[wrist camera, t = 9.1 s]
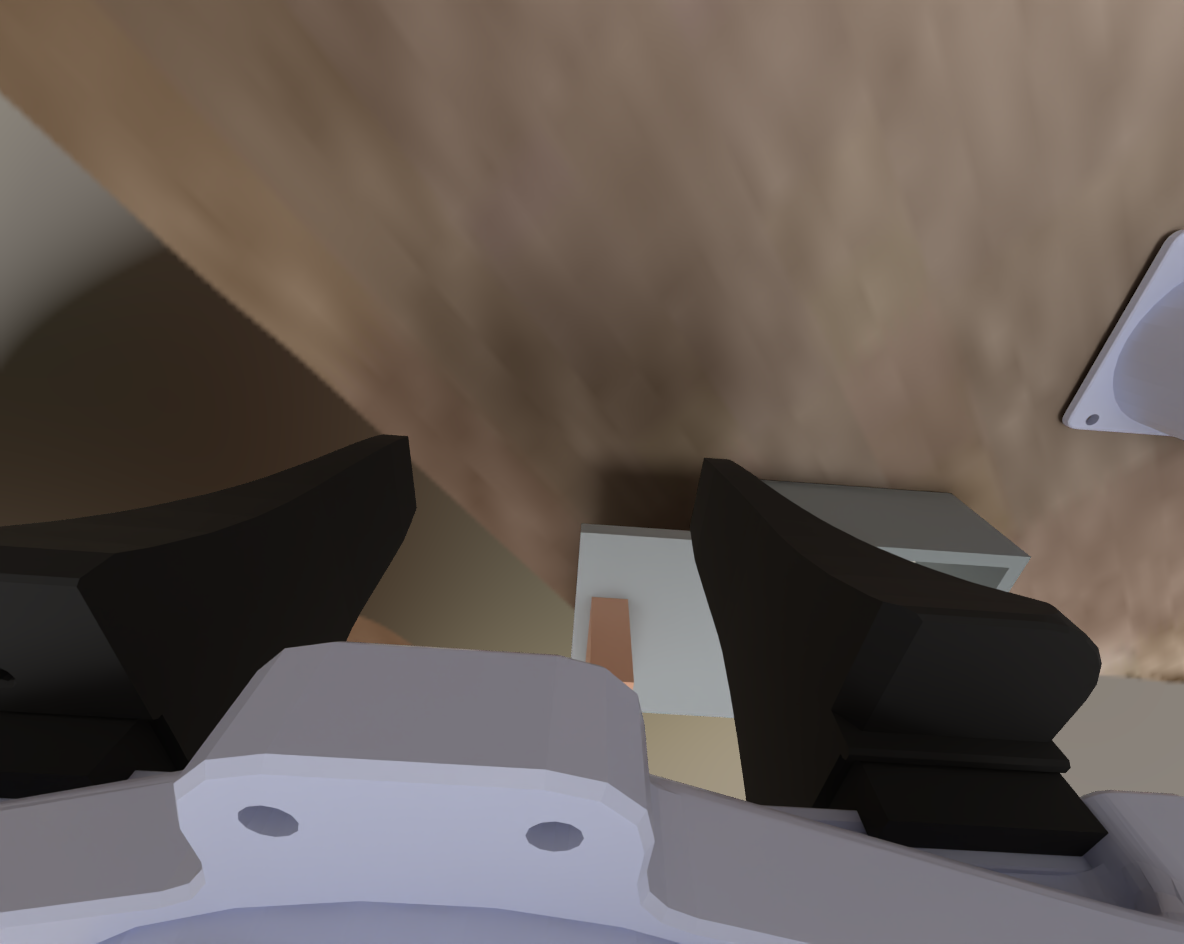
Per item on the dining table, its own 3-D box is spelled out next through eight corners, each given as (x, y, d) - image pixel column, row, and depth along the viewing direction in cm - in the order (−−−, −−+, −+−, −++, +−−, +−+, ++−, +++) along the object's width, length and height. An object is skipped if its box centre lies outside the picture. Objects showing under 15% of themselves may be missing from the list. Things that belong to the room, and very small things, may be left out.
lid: (843, 541, 19) (908, 630, 15) (775, 709, 24) (811, 810, 20) (581, 523, 19) (576, 608, 15) (568, 696, 24) (561, 796, 20)
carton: (951, 493, 24) (1031, 557, 19) (878, 637, 29) (929, 714, 24) (751, 479, 24) (787, 540, 19) (712, 626, 28) (733, 702, 24)
